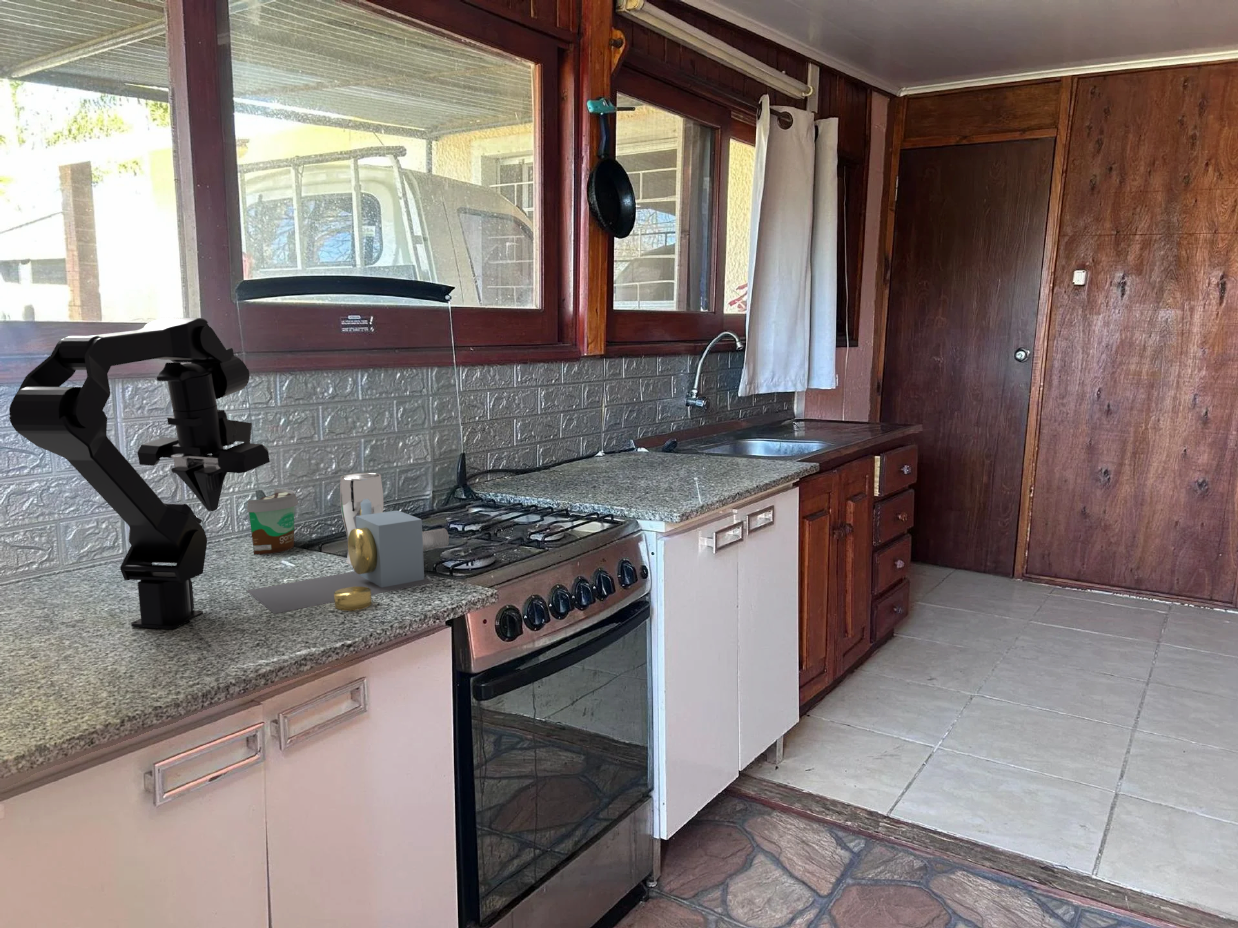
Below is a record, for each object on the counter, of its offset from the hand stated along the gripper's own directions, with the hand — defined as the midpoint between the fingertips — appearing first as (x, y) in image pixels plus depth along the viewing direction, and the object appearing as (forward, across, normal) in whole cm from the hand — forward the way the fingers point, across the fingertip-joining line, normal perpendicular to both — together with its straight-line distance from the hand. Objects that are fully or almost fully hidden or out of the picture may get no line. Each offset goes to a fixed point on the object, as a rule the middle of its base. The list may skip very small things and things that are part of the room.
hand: (212, 510), depth 128 cm
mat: (+14, -16, -6) cm, 22 cm away
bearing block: (+14, -20, -13) cm, 28 cm away
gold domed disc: (+12, -23, +1) cm, 26 cm away
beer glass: (+16, -10, -20) cm, 28 cm away
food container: (+17, +10, -25) cm, 32 cm away
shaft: (+13, -21, -15) cm, 29 cm away
